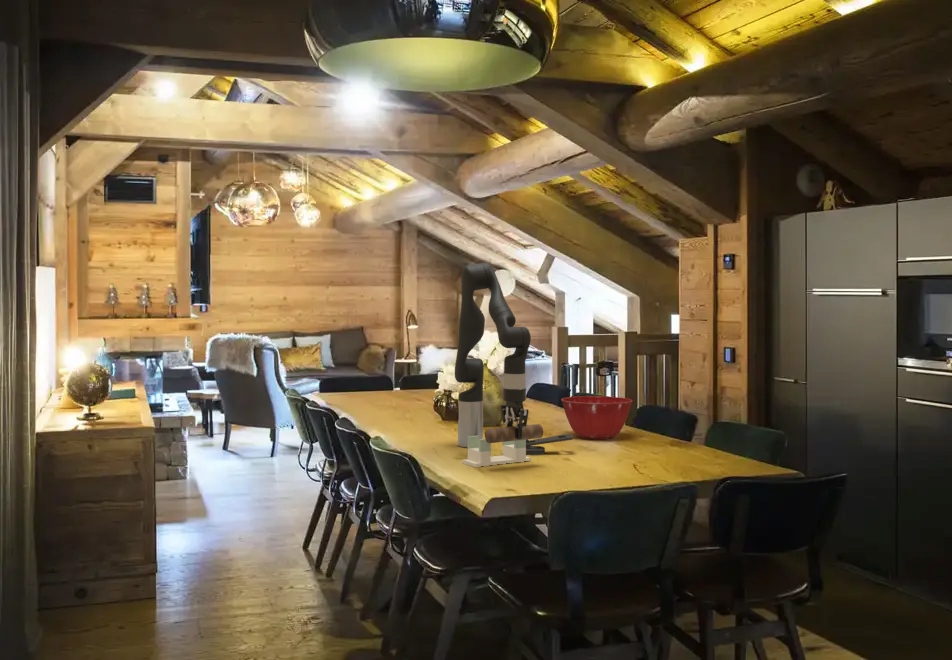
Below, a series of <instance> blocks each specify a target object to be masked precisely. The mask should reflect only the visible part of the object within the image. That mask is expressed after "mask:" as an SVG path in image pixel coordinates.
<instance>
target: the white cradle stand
mask: <svg viewBox="0 0 952 660" xmlns="http://www.w3.org/2000/svg"><path fill="white" fill-rule="evenodd" d="M491 447H492V443H487V442H486V440H485V438H483V439H479V436H468V447H467V458H465V459H462V461H461V462H462V464H464V465H466V466H467V465H468V466H470V467H473V468H482V467H481V466H484V467H490V466H489V465H493V466H498V465H497V464H503V465H507V464H506V463H512V464H514V463H513V462H521V463H525V462H524V461H530V462H532V461H531V457H529V456H526V440H517V441H507V442H502V447H501V448H502V451H501V452H502V454H501V455H495V456H492V453H491V451H492V448H491Z"/></svg>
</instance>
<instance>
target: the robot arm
mask: <svg viewBox="0 0 952 660" xmlns="http://www.w3.org/2000/svg"><path fill="white" fill-rule="evenodd" d="M461 271H462V272H461V279H460V280H461V283H460V284H461V302H460V303H461V304H460V305H461V306H460V316H459V325H458V340H457V341H458V342H457V344H458V345H457V351H456V357H455V365H454V378H455V381H456V382H457V383H461V384H470V383H471V384H472V383H473V386H472V387H470V388H468V389H467V390H463V391H462V392H459V393H458V421H457V439H458V440H457V445H458V447H462V448H468V436H479V439H484V373H485V370H484V369H485V368H484V367H485V366H484V361H483V359H482V358H474V357H473V358H470V357H469V358H467V357H468V355H469V353H470V352H472V350H473V349H474V348H475V347H476V345H478V343H479V342H480V341H481V340H482V338H483V336H484V334H485V323H486V319H485V315H484V313H483V311H482V309H480V307H479V306H478V304H477V302H476V301H475V299H474V292H475V291H481V290H486V289H488V290H489V291H490V298H489V300H488V301H489V302H488V307H487V308H488V313H489V315H490V318H491V319H492V322H493V323H494V325H495V328H496V332H497V338H498V342H499V345H501V346H502V347H503V348H505V349H515V350H514V352H513V353H512V354H509V355H506V356H505V357H504V360H503V378H502V379H503V380H502V383H503V384H502V385H503V386H502V389H503V390H502V399H503V401H504V402H505V404H502V405H500V412H501V419H502V423H503V424H505V426H506V427H511V426H515V427H516V428H515V439H522V428H523V427H525V426H526V425H528V424H527V423H528V416H529V409H526V408H524V402H526V401H527V399H526V398H527V384H526V383H527V381H526V380H527V379H526V361H527V356H528V352H529V348H530V345H531V341H532V340H531V339H532V337H531V333H530V330H529V329H528V328H527V327H526V326H515V325H516V323H517V320H516V317H515V315H514V313H513V311H512V309H511V308H510V306H509V304H508V303H507V300H506V298H505V296H504V293H503V291H502V287H501V284H500V281H499V280H498V277H497V275H496V272H495V270H494V268H493V266H492V265H491V264H490V263H489V262H480V263H473V264H467V265H465V266H464V267H463V268H462V270H461Z"/></svg>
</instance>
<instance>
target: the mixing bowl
mask: <svg viewBox="0 0 952 660" xmlns="http://www.w3.org/2000/svg"><path fill="white" fill-rule="evenodd" d="M632 402H633V400H632V399H631V398H626V397H618V396H604V395H603V396H602V395H601V396H599V395H597V396H596V395H591V396H590V395H589V396H587V395H585V396H584V395H581V396H569V397H562V398H561V403H562V408H563V410H564V412H565V413H564V414H565V416H566V419H567V422H568V423H569V425H570V428H571V430H572V431H573V432H574V434H575V435H577V436H579V438H581V439H585V440H586V439H588V440H610V439H613V438H614V437H616V436H617V435H618V434H619V433H620V432H621V431H622V429H623V428H624V426H625V423H626V421H627V418H628V416H629V413H630V410H631V406H632Z"/></svg>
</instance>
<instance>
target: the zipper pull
mask: <svg viewBox="0 0 952 660" xmlns="http://www.w3.org/2000/svg"><path fill="white" fill-rule="evenodd" d="M573 439H574V436H573V435H572V434H571V433H565V434H558V435H555V436H554V435H553V436H548V437H541V438H537V439H527V440H526V455H530V456H543V454H544V455H545V454H546V448H545V447H544V446H540V445H544V444H545V445H546V444H551V443H558V442H559V443H560V442H565V441H571V440H573Z"/></svg>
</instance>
